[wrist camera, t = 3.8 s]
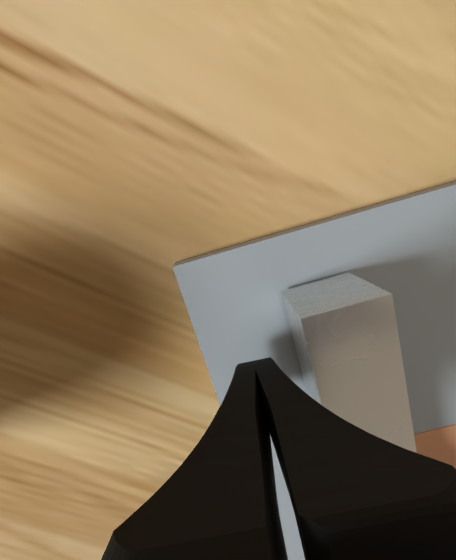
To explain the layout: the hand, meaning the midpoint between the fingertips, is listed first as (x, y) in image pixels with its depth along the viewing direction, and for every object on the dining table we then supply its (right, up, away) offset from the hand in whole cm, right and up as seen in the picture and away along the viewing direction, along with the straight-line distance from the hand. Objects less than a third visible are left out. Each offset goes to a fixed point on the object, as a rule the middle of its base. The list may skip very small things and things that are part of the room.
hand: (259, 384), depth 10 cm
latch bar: (+4, -2, +2) cm, 4 cm away
